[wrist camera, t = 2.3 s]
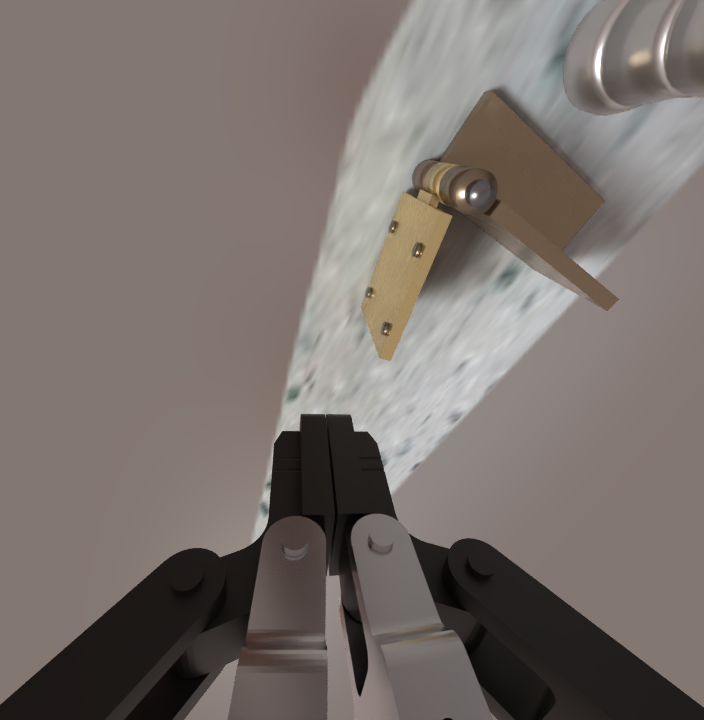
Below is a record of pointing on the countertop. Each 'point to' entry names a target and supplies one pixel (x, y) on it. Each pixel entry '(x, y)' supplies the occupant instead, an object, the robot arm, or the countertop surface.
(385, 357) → the plate
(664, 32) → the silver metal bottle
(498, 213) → the hinge mount
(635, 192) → the countertop surface
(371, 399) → the countertop surface
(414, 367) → the countertop surface
